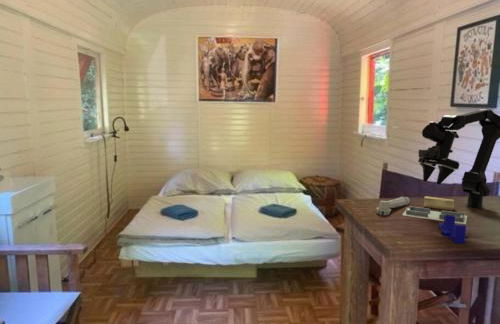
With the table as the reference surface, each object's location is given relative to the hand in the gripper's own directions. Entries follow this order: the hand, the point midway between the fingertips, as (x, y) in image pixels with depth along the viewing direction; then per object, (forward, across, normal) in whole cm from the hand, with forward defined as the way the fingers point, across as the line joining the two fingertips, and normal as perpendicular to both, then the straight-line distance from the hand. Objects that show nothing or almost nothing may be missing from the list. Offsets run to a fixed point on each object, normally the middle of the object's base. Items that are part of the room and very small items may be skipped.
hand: (431, 182), depth 150 cm
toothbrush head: (+16, -9, -6) cm, 19 cm away
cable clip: (+17, +23, -1) cm, 28 cm away
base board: (+13, +3, +4) cm, 14 cm away
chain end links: (+12, +3, +4) cm, 13 cm away
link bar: (+10, -8, +12) cm, 17 cm away
